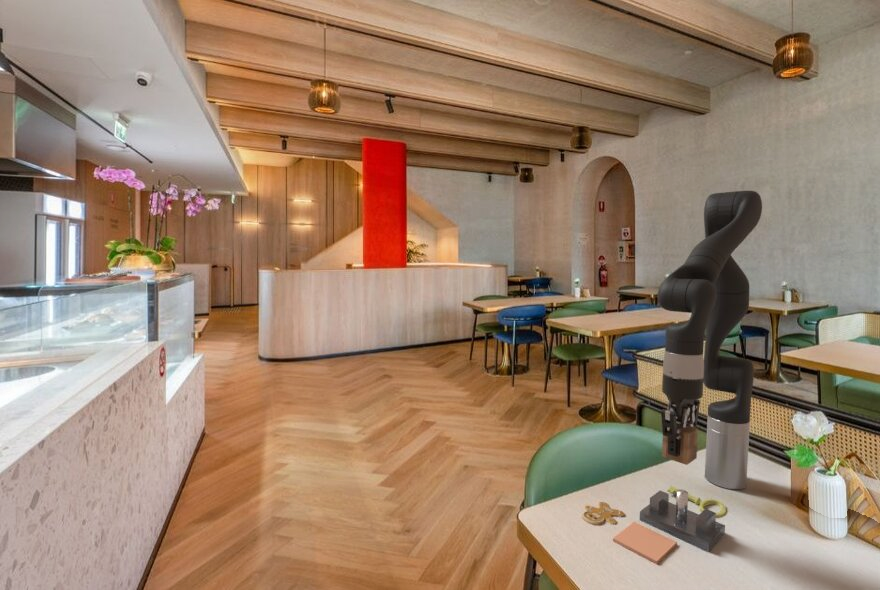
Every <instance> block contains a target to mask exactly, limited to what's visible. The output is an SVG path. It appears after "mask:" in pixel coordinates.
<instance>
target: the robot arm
mask: <svg viewBox="0 0 880 590" xmlns="http://www.w3.org/2000/svg"><path fill="white" fill-rule="evenodd" d="M762 212H763V202H762V198H761V195H760V194H759V192H757V191H755V190H739V191H738V190H737V191H736V190H735V191H726V192H716V193H712V194H709V196H707V198H706V199H705V203H704V209H703V221H704V223H703V224H704V236H705V237H704V239H702V240H701V241H700V242H699V243H697V244H696V245H695V246H694V247H693V249H692V250H691V252H690V253H689V255H688V256H687V258H686V260H685V261H684V263H683V264H682V265H680V266H679V267H677V269H675V270H674V271H673V272H672V273H670V274H669V275H668V276H667V277H666V278H665V279H664V280H663V281H662V283H660V286H659V288H658V290H657V302H658V304H659V306H660V307H661V308H663V309H664V310H666V311H669V312H677V313H688V314H690V317H689V319H688V321H686V322H674V323H670V324H668V325H667V326H666V329H665V342H664V343H665V344H664V345H665V347H664V355H663V360H662V361H663V362H662V385H661V387H662V388H661V389H662V390H661V392H662V393H663V394H664V395H666V396H667V397H669V400H668V401H669V402H668V404H667V409H664V408H662V409H661V412H660V413H661V427H662V428H661V429H662V436H663V435H664V436H668V453H669V454H670V455H673V456H679V455H680V444H681V439H680V438H681V434H682V429H685V427H686V425H687V426H689V427H694V428H697V425H698V418H699V413H700V412H699V410H700V404H701V400H700V399H702V398H703V395H704V394H703V393H704V386H705V388H706V389H709V390H711V391H718V392H724V393H731V394H735V397H733V398H731V399H727V400H721V401H713V402H711V403H709V404H708V405H707V406H708V407H707V421H706V423H707V425H706V444H705V461H704V462H705V464H704V478H705V479H706V480H707V481H708V482H710V483H711V484H713V485H716V486H718V487H720V488H724V489H729V490H742V489H745V488H746V487H747V482H748V481H747V478H748V464H749V463H748V461H749V460H748V459H749V447H750V445H749V444H750V443H749V442H750V426H751V407H752V406H751V405H752V393H753V385H754V377H755V367H754V364H753V362H752V361H751V360H750V359H747V358H741V357H734V356H727V355H726V356H725V355H720V350H721V347H722V345H723V343H724V342H725V340H726V338H727V337H728V336H729V334H730V333H731V332H732V330H734V328H736V327H737V325H738V324H739V323H740V322H741V321H742V319H743V318H744V317H746V314H747V313H748V311H749V307H750V282H749V280H748V277H747V275H746V274H745V272H744V271H743V270H742V268H741V267H740V265H739V264H738V263H737V261H735V259H734V257H733V255H732V254H733V252H734V251H736V249H737V248H738V247H739V246H740V245H741V244H742V243H743V242H744V241H745V239H746V238H747V237H748V236H749V235H750V234H751V233H752V232H753V230H754V229H755V228H756V226H757V225H758V224H759V221H760V219H761V216H762ZM678 423H679V424H678ZM667 427H668V428H667ZM677 428H678V430H677Z"/></svg>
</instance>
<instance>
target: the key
mask: <svg viewBox="0 0 880 590" xmlns="http://www.w3.org/2000/svg"><path fill="white" fill-rule="evenodd" d="M678 489H679V488H678V487H675V486H673V485H670V486H669V489H667V492H666V493H670V494H673V493H675V494H677V490H678ZM688 501H691V502H693V503H694V504H695V506H699V507H698V509H699V511H700V513H702V512H703V511H704V510H705V509H706V508H705V507H706V506H708V505H717V506H718V507H720V511H719V512H715V513H716V518H720V517H721V518H722V517H723V516H725V515H726V513H727V509H726V506H725V504H723V503H722V502H721V501H719V500H716V499H712V498H706V499H704V500H701V498H700V497H695V496H693V495H691V494H689V493H688Z"/></svg>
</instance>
